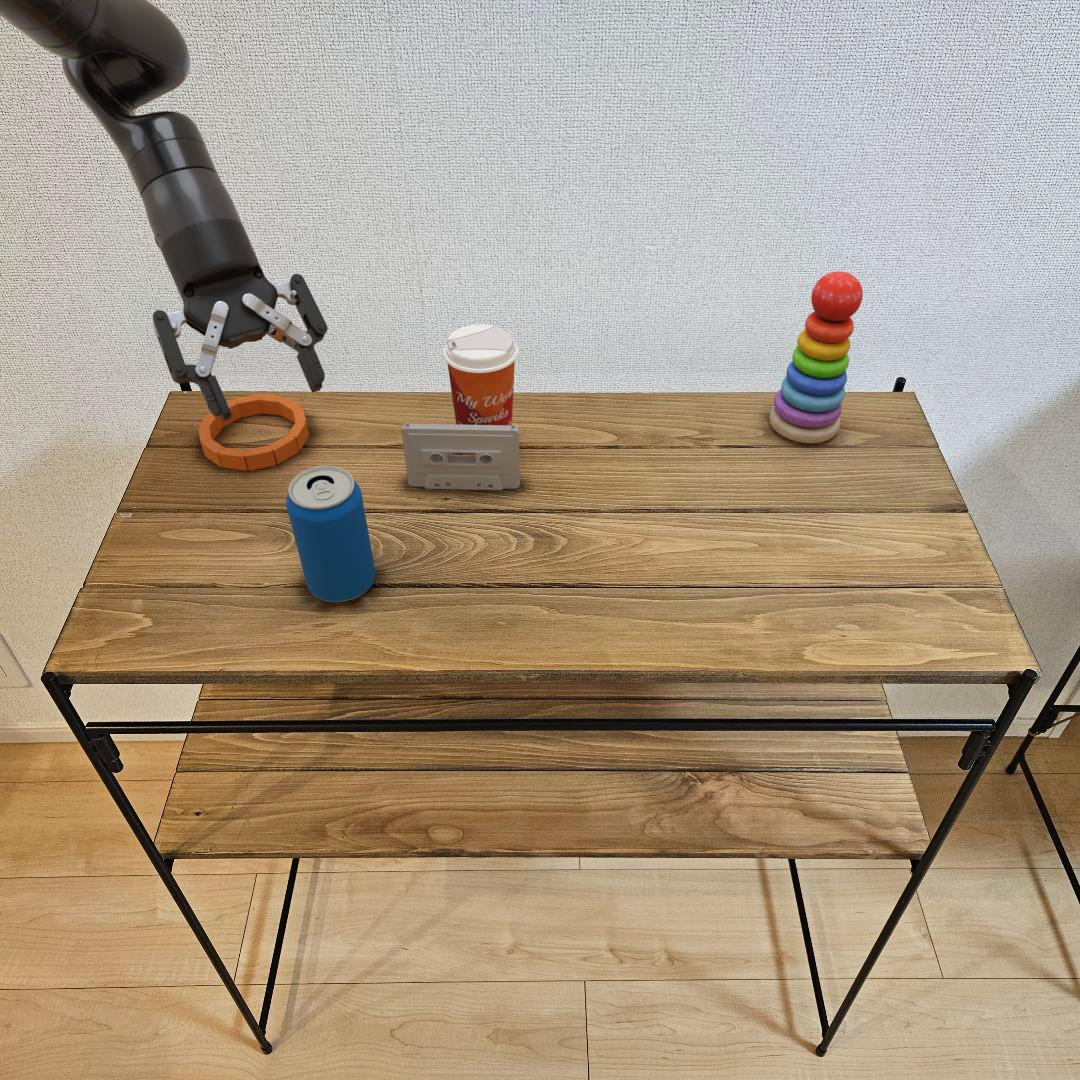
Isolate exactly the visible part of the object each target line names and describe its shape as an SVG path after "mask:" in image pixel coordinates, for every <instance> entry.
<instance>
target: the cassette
mask: <svg viewBox="0 0 1080 1080" xmlns="http://www.w3.org/2000/svg"><path fill="white" fill-rule="evenodd" d="M401 438H402V448H403V454H404V460H405V468H406V469H405V470H406V478H407V483H408V486H409V487H413V488H414V487H416V488H417V487H418V488H425V489H426V490H466V491H467V490H468V491H472V490H473V491H502V490H503V489H509V490H511V489H516V490H517V489H519V488H520V486H521V469H520V429H519V427H518V426H517V425H512V426H506V425H456V424H451V423H450V424H447V423H446V424H445V423H441V424H440V423H404V424H403V425H402V427H401ZM461 453H475V455H462V454H461Z"/></svg>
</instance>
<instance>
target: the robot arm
mask: <svg viewBox="0 0 1080 1080" xmlns="http://www.w3.org/2000/svg"><path fill="white" fill-rule="evenodd" d="M0 17H1V18H2V19H4V20H5V21H7V22H8V23H9V24H10V25H11V26H13V27H14V28H16V29H17V30H19V31H20V32H21V33H23V34H24V35H25V36H26V37H28V38H29V39H31V40H32V41H33V42H35V44H37V45H39V46H41V47H42V48H43V49H45V50H46V51H47V52H49V53H51V54H53V55H54V56H57V57H59V58H61V66H62V72H63V74H64V77H65V79H66V80H67V82H68V84H69V86H70V87H71V88H72V91H74V92H75V94H76V95H77V97H78V98H79V99H80V101H82V103H83V104H84V105H85V106H86V107H87V109H88V110H89V111H90V112H91V113H92V115H93V116H94V117H95V118H96V120H97V121H98V122H99V124H100V125H101V127H103V129H104V131H105V132H106V133H107V135H108V136H109V138H110V139H111V141H112V142H113V143H114V145H115V146H116V148H117V150H118V151H119V153H120V154H121V156H122V158H123V159H124V162H125V164H126V166H127V168H128V170H129V173H130V175H131V178H132V180H133V183H134V184H135V187H136V189H137V192H138V193H139V196H140V198H141V200H142V204H143V206H144V210H145V213H146V217H147V221H148V223H149V226H150V229H151V231H152V234H153V237H154V241H155V244H156V246H157V247H158V248H159V250H160V252H161V255H162V257H163V259H164V261H165V263H166V266H167V269H168V270H169V273H170V275H171V277H172V279H173V280H172V281H173V282H174V284H175V287H176V289H177V291H178V293H179V296H180V299H181V301H182V304H183V309H181V310H176V311H170V312H166V311H164V310H162V309H158V310H155V311H154V312H153V314H152V327H153V330H154V333H155V335H156V338H157V341H158V343H159V346H160V349H161V352H162V355H163V357H164V360H165V364H166V366H167V368H168V371H169V374H170V376H171V379H172V381H173V382H174V383H175V384H184V383H193V384H195V385H197V387H199V390H200V392H201V394H202V396H203V399H204V401H205V403H206V407H207V408H208V410H209V412H210V413H211V414H212V415H213V416H214V417H217V416H220V417H221V419H222V421H226V420H229V419H231V416H232V415H231V411H230V409H229V407H228V404H227V402H228V401H227V400H226V397H225V395H224V393H223V390H222V388H221V386H220V384H219V380H218V379H217V376H216V375H213V374H212V370H213V367H214V364H215V362H216V358H217V355H218V351H219V348H220V347H222V348H228V349H229V350H231V349H234V348H238V347H239V346H241V345H243V344H244V343H254V342H258V341H261V340H263V338H265V336H268V337H270V338H272V339H273V340H275V341H277V342H278V343H283V344H285V345H286V346H288V347H289V348H291V349H292V350H294V351H296V352H297V355H296V359H297V361H298V363H299V366H300V368H301V370H302V373H303V376H304V378H305V380H306V382H307V384H308V387H309V389H310V391H311V393H316V392H320V391H321V390H322V388H323V383H324V381H325V379H326V377H325V376H326V375H325V373H326V372H325V370H324V368H323V365H322V364H321V361H320V358H319V356H318V354H317V352H316V349H315V345H317V344H318V343H320V342H322V341H323V340H324V337H325V335H326V334H327V332H328V329H329V328H328V325H327V321H325V318H324V316H323V315H322V312H321V311H320V309H319V306H318V304H317V302H316V300H315V298H314V296H313V294H312V292H311V290H310V288H309V286H308V284H307V282H306V280H305V278H304V276H303V275H302V274H299V273H294V274H292V275H291V277H290V279H288V280H284V281H282V282H280V283H276V284H273V283H272V282H270V281H269V280H268V278H267V277H266V276H265V273H264V271H263V268H262V265H261V264H260V261H259V259H258V256H257V254H256V252H255V250H254V247H253V244H252V243H251V241H250V238H249V236H248V233H247V231H246V229H245V226H244V225H243V221H242V220H241V216H240V215H239V212H238V210H237V207H236V205H235V203H234V201H233V198H232V196H231V195H230V193H229V191H228V189H227V188H226V187H225V185H224V183H223V181H222V180H221V179H222V178H221V177H220V175H219V173H218V170H217V168H216V166H215V164H214V161H213V159H212V155H211V154H210V152H209V149H208V147H207V144H206V142H205V140H204V137H203V135H202V133H201V131H200V129H199V128H198V126H197V124H196V123H195V122H194V120H193V119H191V117H189V116H188V115H186V114H184V113H182V112H179V111H172V110H163V111H156V112H149V113H144V114H138V115H137V114H136V110H137V109H139V108H141V107H143V106H145V105H147V104H149V103H151V102H153V101H154V100H157V99H158V98H161V97H162V96H165V95H167V94H168V93H171V92H172V91H174V90H176V89H178V88H179V87H180V86H182V85H183V84H184V83H185V82H186V80H187V79H188V76H189V74H190V71H191V56H190V55H191V54H190V50H189V48H188V45H187V42H186V40H185V38H184V36H183V34H182V33H181V31H180V29H179V28H178V27H177V25H176V23H174V22H173V21H172V20H171V18H170V17H169V16H167V14H165V13H164V12H163V11H162V10H161V9H160V8H158V7H157V6H156V5H155V4H153V3H152V2H150V1H149V0H0ZM278 298H281V299H283V300H284V301H285V302H286V303H287V304H288V305H290V306H295V308H296V310H297V312H298V315H299V316H300V319H301V321H302V322H303V324H304V326H305V329H306V331H305V330H303V329H302V328H301V327H298V326H297V325H295V324H294V323H293V322H292V320H291V319H289V317H286V316H285V315H283V314H282V313H280V312H278V311H277V310H276V306H277V301H278ZM185 324H186V325H187V326H189V327H190V328H192V329H193V330H194V331H196V332H198V333H199V334H201V335H202V336H204V338H203V341H202V345H201V349H200V353H199V356H198V359H197V363H196V364H189V363H187V364H186V362H185V360H184V357H183V354H182V351H181V348H180V346H179V343H178V340H177V339H179V338H180V337H181V336H182V326H183V325H185Z"/></svg>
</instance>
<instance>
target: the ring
mask: <svg viewBox="0 0 1080 1080" xmlns="http://www.w3.org/2000/svg"><path fill="white" fill-rule="evenodd" d="M226 402H227V404H228V407H229V409H230V411H231V415H232V416H231V419H229V420H226V421H222V419H221V417H220V416H217V417H214V416H213V415H212V414H211V413H210V411H209V412H208V413H207V415H205V417H204V418H203V420H201V422H200V424H199V425H198V427H197V429H198V436H199V442H200V445H201V448H202V449H201V450H202V451H203V455H204V456H205V458H207V459H208V460H209V461H212V463H214V464H215V465H217V466H218V467H220V468H222V469H229V470H237V471H245V472H246V471H249V472H251V471H256V470H260V469H265V468H269V467H274V466H277V465H279V464H281V463H283V462H285V461H286V460H288V459H289V458H291V457H293V456H295V455H297V454H298V453H299V452H301V449H303V447H304V445H305V443H306V442H307V441H308V439H309V437H310V431H309V426H308V421H307V417H306V415H305V411H304V408H303V406H302V405H301V404H299V403H297V402H296V401H294V400H292V399H290V398H288V397H287V396H283V395H277V394H276V395H273V394H266V393H265V394H264V393H261V394H260V393H258V394H252V395H247V396H242V397H236V398H234V399H233V398H232V399H230V400H228V401H226ZM262 414H263V415H271V416H279V417H280V416H282V417H283V418H285V419H287V420H289V421H290V422H292V423H294V424H293V426H292V427H291V428H290V430H289V431H288V433H287V435H285V436H283V437H281V438H279V439H278V440H276V441H274V442H273V443H271V444H268V445H263V446H257V447H254V448H248V449H242V448H241V449H240V448H234V447H233V448H231V447H224V446H223V445H221V443H219V442H217V441H216V437H217V436H218V435H219V434H220V432H221V431H222V430H223V428H224V427H227V426H229V425H230V424H232V423H234V422H236V421H238V420H239V419H242V418H246V417H252V416H257V415H262Z"/></svg>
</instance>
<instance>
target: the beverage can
mask: <svg viewBox="0 0 1080 1080" xmlns="http://www.w3.org/2000/svg"><path fill="white" fill-rule="evenodd" d="M287 491H288V492H287V495H286V499H285V505H286V510H287V514H288V519H289V521H290V526H291V529H292V533H293V537H294V540H295V545H296V548H297V553H298V556H299V560H300V564H301V568H302V571H303V576H304V580H305V584H306V587H307V589H308V591H309V592H310V593H311V594H312V595H313V596H314V597H315V598H317V599H319V600H321V601H325V602H329V603H330V602H331V603H340V602H346V601H351V600H354V599H357V598H358V597H360V596H362V595H363V594H365V593H366V592H367V591H368V590H369V589H370V588H371V587H372V586H373V584H374V581H375V580H376V565H375V561H374V556H373V555H374V554H373V550H372V544H371V539H370V532H369V528H368V522H367V515H366V510H365V505H364V499H363V494H362V489H361V487H360V485H359V484H358V482H357V481H356V480H355V479H354V477H353V475H352V474H351V473H350V472H349V471H348V470H346V469H345V468H342V467H339V466H335V465H319V466H318V465H317V466H313V467H310V468H307V469H306V470H303V471H301V472H299V473H298V474H297V475H296V476H294V477H293V479H292V480H291V481H290V483H289V485H288V490H287Z"/></svg>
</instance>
